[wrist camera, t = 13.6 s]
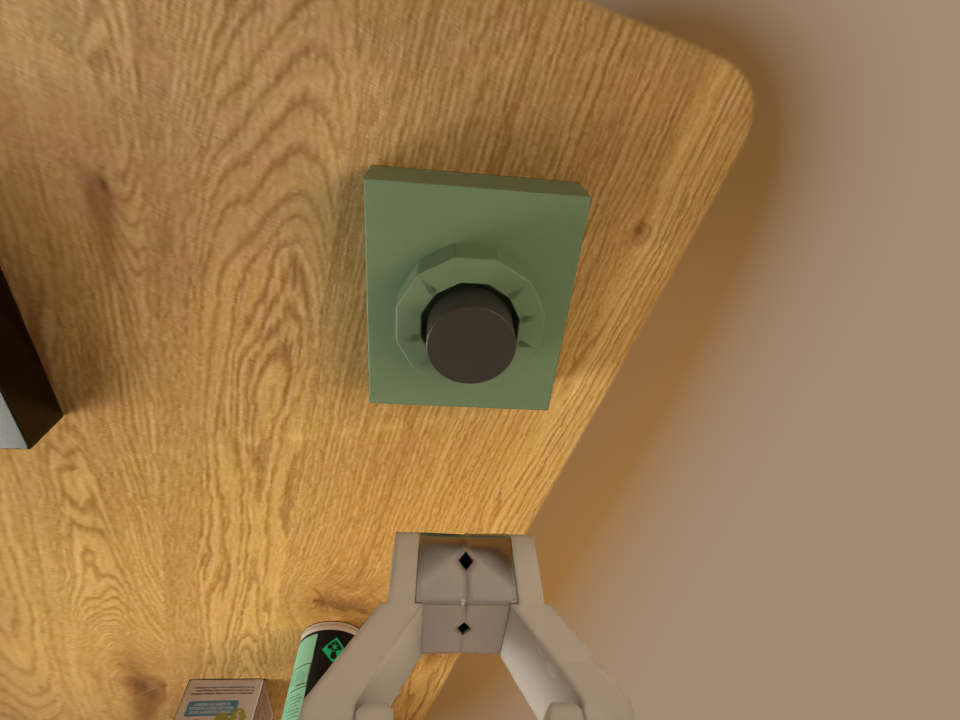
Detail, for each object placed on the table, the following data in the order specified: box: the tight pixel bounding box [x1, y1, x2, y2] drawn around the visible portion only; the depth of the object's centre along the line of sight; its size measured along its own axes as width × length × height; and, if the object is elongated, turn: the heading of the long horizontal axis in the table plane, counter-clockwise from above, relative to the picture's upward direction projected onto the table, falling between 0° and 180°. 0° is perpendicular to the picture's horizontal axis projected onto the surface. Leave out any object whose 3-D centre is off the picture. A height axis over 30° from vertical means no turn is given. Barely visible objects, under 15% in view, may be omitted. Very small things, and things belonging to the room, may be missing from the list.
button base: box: [364, 165, 591, 410], centre depth 26 cm, size 12×10×4 cm
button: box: [426, 287, 517, 384], centre depth 24 cm, size 4×4×2 cm
